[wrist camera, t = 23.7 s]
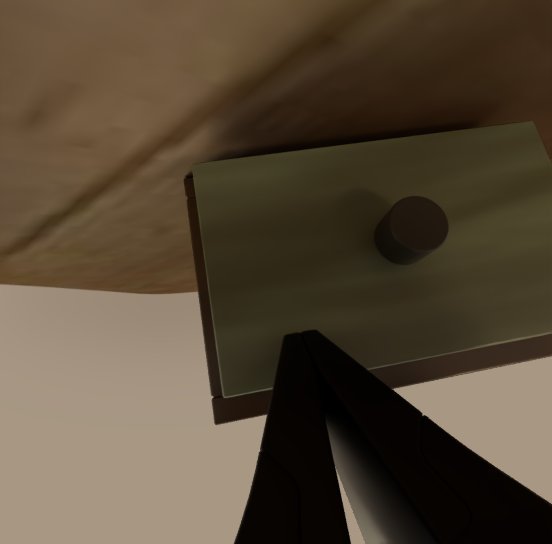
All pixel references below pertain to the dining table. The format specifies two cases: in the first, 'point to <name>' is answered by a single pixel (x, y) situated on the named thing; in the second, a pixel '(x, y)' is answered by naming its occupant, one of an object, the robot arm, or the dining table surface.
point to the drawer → (378, 248)
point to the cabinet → (390, 375)
